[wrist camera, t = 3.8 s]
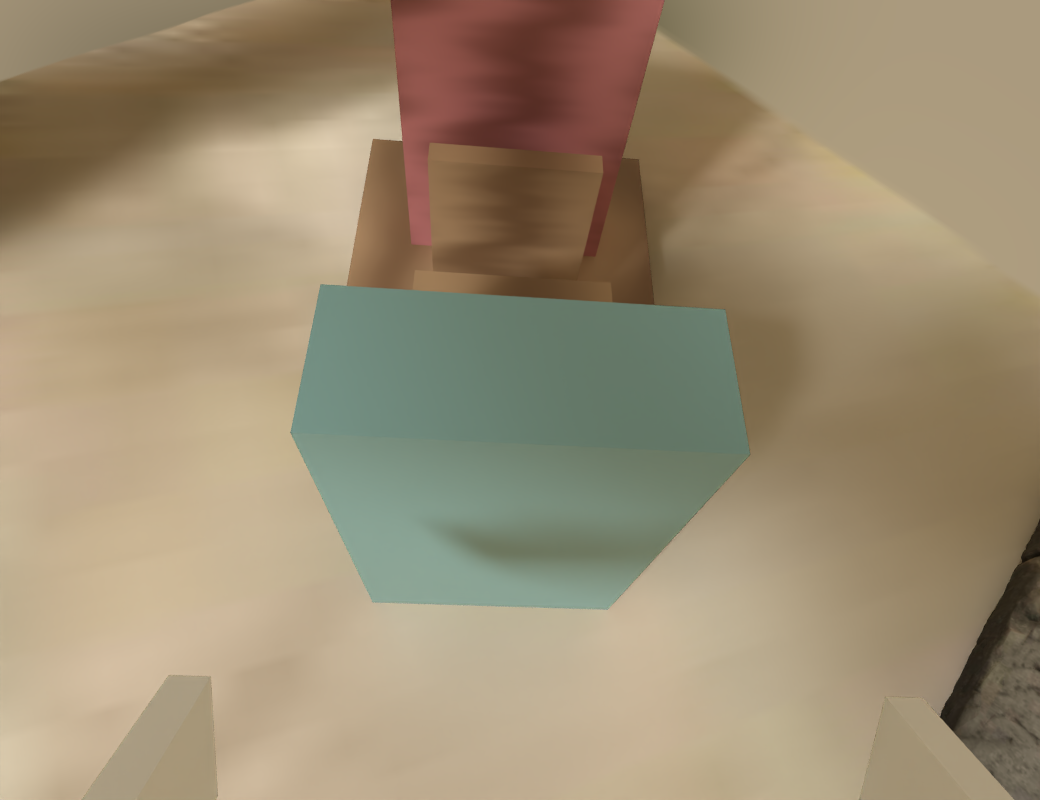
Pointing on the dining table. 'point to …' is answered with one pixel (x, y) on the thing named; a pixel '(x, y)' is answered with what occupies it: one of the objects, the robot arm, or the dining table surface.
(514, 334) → the book
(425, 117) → the book rack
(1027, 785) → the stone slab
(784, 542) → the dining table surface
